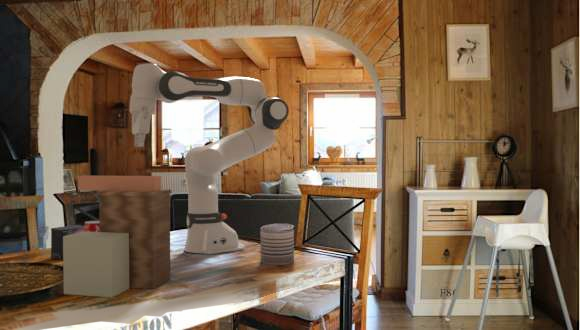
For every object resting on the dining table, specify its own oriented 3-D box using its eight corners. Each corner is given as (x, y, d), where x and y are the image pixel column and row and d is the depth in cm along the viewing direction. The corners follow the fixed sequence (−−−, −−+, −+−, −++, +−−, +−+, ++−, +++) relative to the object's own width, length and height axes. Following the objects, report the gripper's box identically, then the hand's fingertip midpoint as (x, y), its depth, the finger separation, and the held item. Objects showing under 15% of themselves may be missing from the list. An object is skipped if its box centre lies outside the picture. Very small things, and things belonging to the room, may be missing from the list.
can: (300, 261, 161) (300, 226, 161) (273, 266, 154) (273, 229, 154) (280, 256, 170) (280, 222, 170) (253, 260, 163) (253, 225, 163)
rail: (77, 190, 136) (77, 176, 136) (85, 189, 140) (85, 175, 140) (154, 191, 131) (154, 176, 131) (161, 190, 135) (160, 176, 135)
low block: (63, 294, 124) (63, 236, 124) (83, 285, 132) (82, 231, 132) (112, 297, 121) (111, 238, 121) (129, 288, 129) (128, 233, 129)
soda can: (98, 261, 161) (97, 223, 161) (79, 261, 163) (78, 222, 162) (110, 257, 168) (109, 220, 168) (92, 256, 169) (91, 220, 169)
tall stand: (98, 285, 132) (97, 191, 131) (120, 276, 142) (119, 188, 141) (153, 289, 128) (152, 192, 127) (171, 279, 138) (171, 189, 138)
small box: (61, 260, 164) (60, 229, 164) (50, 258, 167) (49, 228, 167) (88, 254, 173) (88, 225, 173) (77, 252, 176) (77, 224, 176)
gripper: (156, 106, 163) (152, 147, 162) (147, 111, 181) (144, 148, 181) (137, 104, 160) (133, 145, 160) (130, 109, 179) (126, 146, 178)
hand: (138, 146), depth 171 cm, fingers open, 8 cm apart
